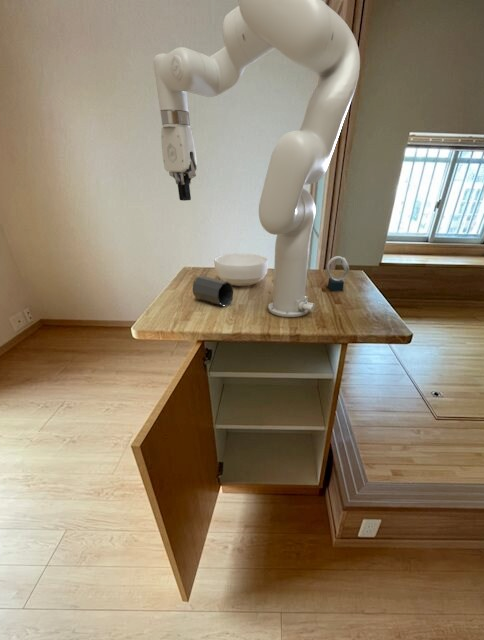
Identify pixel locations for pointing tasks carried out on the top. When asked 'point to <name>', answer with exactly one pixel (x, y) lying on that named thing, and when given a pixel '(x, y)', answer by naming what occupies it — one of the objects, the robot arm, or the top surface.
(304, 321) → the top surface
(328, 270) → the black block with loop
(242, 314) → the top surface
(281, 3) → the robot arm
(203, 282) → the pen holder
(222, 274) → the bowl
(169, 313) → the top surface
